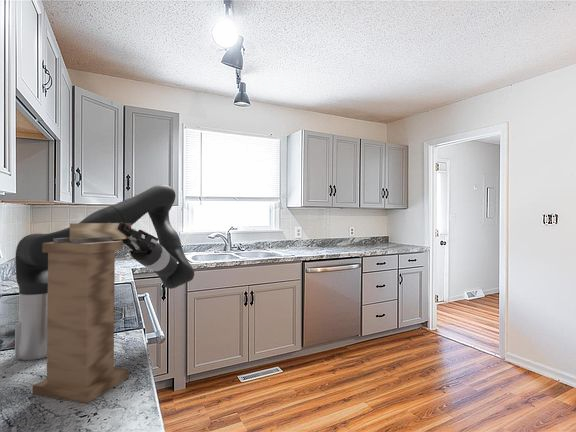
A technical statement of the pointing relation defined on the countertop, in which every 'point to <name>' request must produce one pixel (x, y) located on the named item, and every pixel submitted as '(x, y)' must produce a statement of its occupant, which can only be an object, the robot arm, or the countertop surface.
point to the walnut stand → (80, 319)
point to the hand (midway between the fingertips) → (114, 225)
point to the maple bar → (96, 230)
